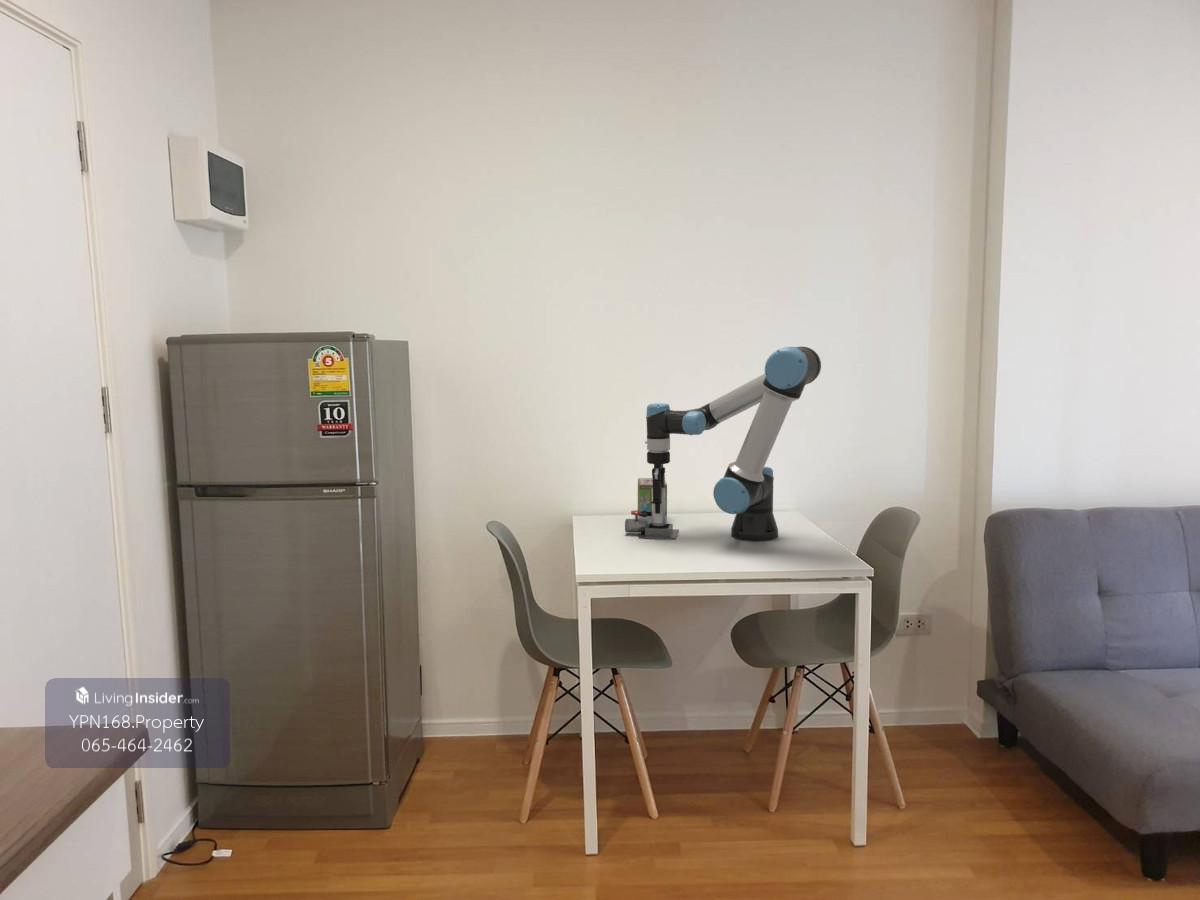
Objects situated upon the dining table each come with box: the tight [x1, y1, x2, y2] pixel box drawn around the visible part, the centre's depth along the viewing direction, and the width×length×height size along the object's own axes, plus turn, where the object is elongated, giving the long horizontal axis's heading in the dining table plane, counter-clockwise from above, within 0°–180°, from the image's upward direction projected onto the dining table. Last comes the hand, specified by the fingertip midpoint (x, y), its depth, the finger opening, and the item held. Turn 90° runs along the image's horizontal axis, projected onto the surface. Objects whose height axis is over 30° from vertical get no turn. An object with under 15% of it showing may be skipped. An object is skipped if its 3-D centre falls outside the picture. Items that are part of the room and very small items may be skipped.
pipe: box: [652, 488, 666, 526], centre depth 281 cm, size 4×4×12 cm
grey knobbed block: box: [624, 509, 680, 541], centre depth 282 cm, size 17×12×8 cm
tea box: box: [637, 477, 668, 524], centre depth 302 cm, size 15×10×15 cm
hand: (659, 521), depth 282 cm, fingers closed on pipe, 4 cm apart
